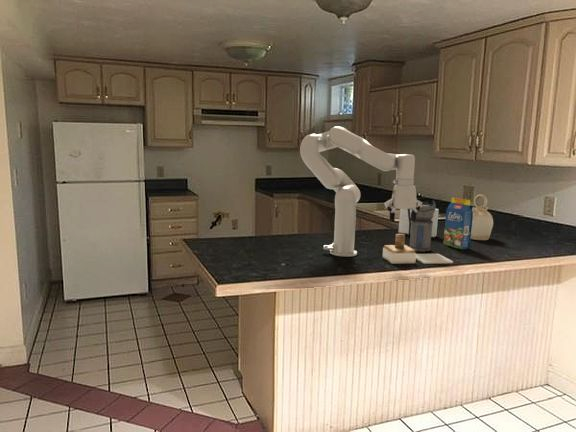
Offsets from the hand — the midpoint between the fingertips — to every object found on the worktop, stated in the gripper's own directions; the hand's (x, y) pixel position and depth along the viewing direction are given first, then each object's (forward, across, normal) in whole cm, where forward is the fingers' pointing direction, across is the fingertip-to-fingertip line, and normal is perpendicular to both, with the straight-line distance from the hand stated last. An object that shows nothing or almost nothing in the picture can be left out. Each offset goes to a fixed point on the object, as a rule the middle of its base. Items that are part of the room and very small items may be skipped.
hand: (402, 221), depth 206 cm
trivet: (+18, +15, +1) cm, 24 cm away
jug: (+19, +65, +45) cm, 81 cm away
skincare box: (+18, +34, +56) cm, 68 cm away
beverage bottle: (+18, +17, +19) cm, 31 cm away
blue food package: (+19, +41, +25) cm, 52 cm away
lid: (+13, -1, 0) cm, 13 cm away
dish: (+18, -1, 0) cm, 18 cm away
